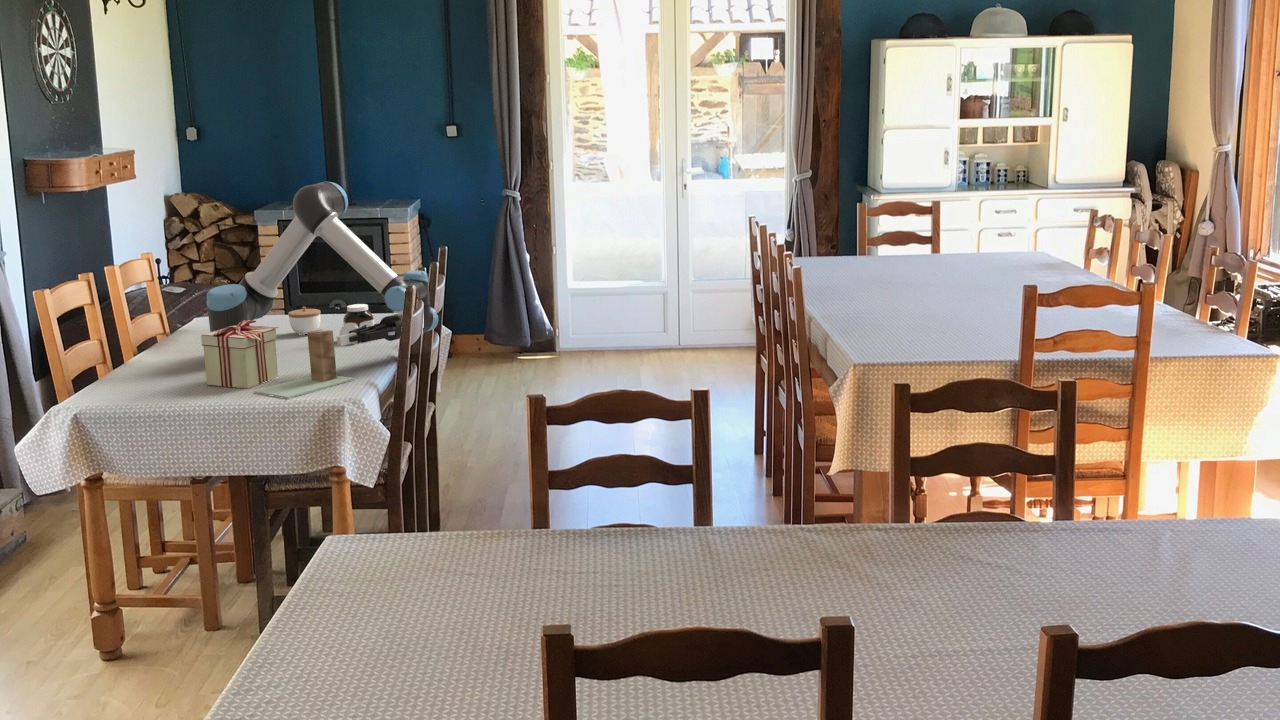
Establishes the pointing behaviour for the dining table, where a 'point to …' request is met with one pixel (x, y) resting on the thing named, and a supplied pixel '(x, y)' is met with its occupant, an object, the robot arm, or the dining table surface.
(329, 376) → the walnut block
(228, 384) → the gift box
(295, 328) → the lidded jar
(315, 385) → the mat
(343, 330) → the spread jar
